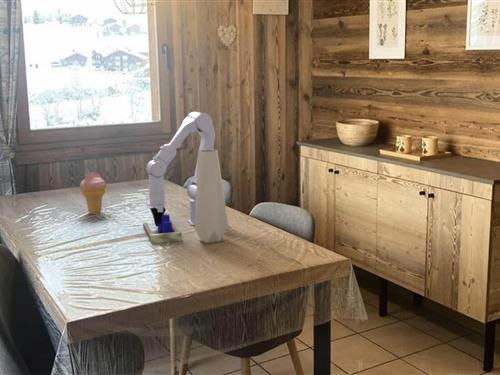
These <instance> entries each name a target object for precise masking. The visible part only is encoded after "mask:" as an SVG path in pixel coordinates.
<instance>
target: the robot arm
mask: <svg viewBox="0 0 500 375" xmlns="http://www.w3.org/2000/svg"><path fill="white" fill-rule="evenodd" d="M213 122H214V120H213V119H212V118H211V116H210V115H209V114H208V113H205V112H199V111H196V110H195V111H191V112H189V113H188V115H187V116H186V117H185V118H184V120H183V121H182V124H181V125H180V127H179V128H178V130H177V131H176V133H175V135H174V136H173V137H172V138H171V140H170V141H169V143H165V144H164V145H161V146H160V147H159V149H160V150H159V151H158V153H157V154H156V155H155V156H153V157H152V160H150V161H149V162H148V163H147V164H146V167H145V171H146V172H147V174H148V189H149V190H148V191H149V192H148V193H149V202H147V203H146V206H147V207H149V210H150V213H151V214H152V217H153V220H154V221H153V222H154V225H155V227H157V228H158V223H159V222H162V218H161V215H165V214H166V207H165V206H166V199H165V178H164V177H165V176H164V175H165V174H166V172H167V167H168V166H169V164H170V163H171V162H172V160H173V159H174V158H175V156H176V155H177V148H179V146H180V145H181V144H182V143H183V141H185V139H186V138H187V137H188V136H189V134H192V133H195V132H197V133H198V135H199V136H200V137H201V138H200V141H199V142H200V144H199V148H198V151H199V150H204V149H214V147H215V146H214V145H215V140H216V131H215V127H214V124H213ZM197 166H198V158H196V165H195V171H194V176H193V177H192V178H191V179H190V182H189V185H187V188H186V193H187V195H188V196H189V218H190V219H187V221H188V222H189V224H190V225H191V226H195V213H196V189H197Z"/></svg>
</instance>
